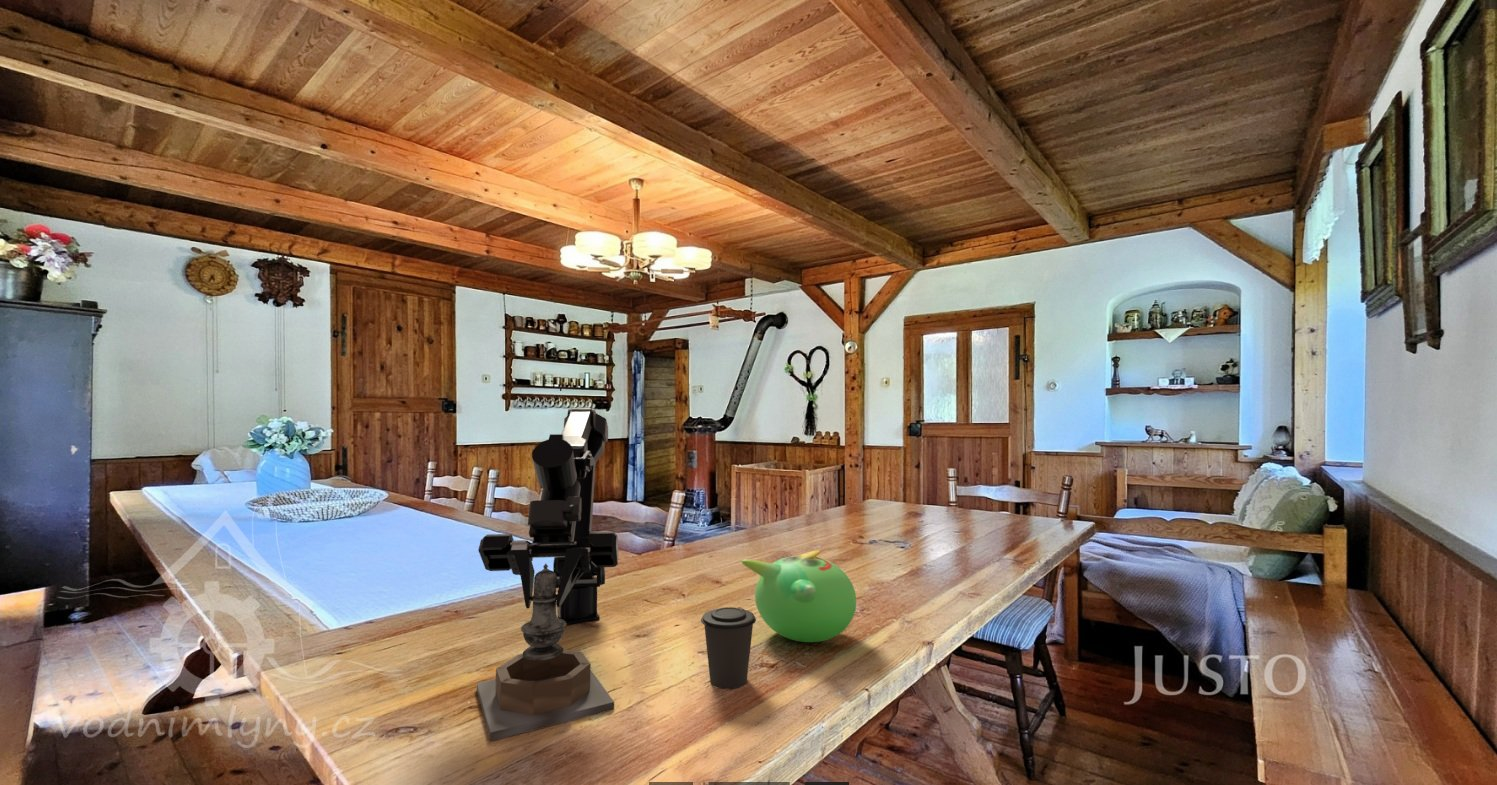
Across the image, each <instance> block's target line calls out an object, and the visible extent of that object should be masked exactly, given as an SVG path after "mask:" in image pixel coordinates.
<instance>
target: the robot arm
mask: <svg viewBox="0 0 1497 785" xmlns="http://www.w3.org/2000/svg"><path fill="white" fill-rule="evenodd" d="M608 439H609V426H608V421H607V418H606V417H604V416H602V415H600V414H599V413H597V412H596V409H595V408H592V407H572V408H569V409H568V410H567V415H566V417H565V418H564V419H563V429H562V432H561V434H560V433H559V434H558V433H557V434H556V433H555V434H550V433H549V437H548V439H546V440H543V441H542V442H540V443H538V444H536V446H535V447H534V448H533V449H532V451H531V459H532V463H533V467H534V472H535V476H536V479H537V485H538V486H539V488H541V495H540V499H539V500H538V499H537V500H531V501H530V502H529V509H528V519H527V526H529V529H528V535H529V538H530V539H531V538H532V542H530V541H528V540H526V539H525V540H524V539H523V540H515V539H514V537H513V533H501V534H500V533H499V534H498V533H497V534H496V533H495V534H491V533H490V534H486V535H485V536H483V537H482V538H481V539H480V541H479V542H480V543H479V547H478V549H477V551H478V553H479V556H480V558H481V561H482V563H483V566H484V569H485V570H486V571H489V572H500V571H501V572H502V571H503V572H504V571H507V572H508V571H511V572H512V574H513V575H516V576H519V577H520V582H521V585H522V594H523V599H524V605H525V609H530V608H531V604H532V601H531V597H533V594H534V577H535V574H536V572H535V568H534V565H533V559H536V558H542V559H544V558H553V566H552V567H553V569H552V571H553V572H555V574H556V589H557V592H556V594H557V600H556V614H557V617H558V619H561V620H563V621H565V622H566V625H570V624H576V623H583V622H588V621H593V620H598V619H601V616H600V614H599V613H598V588H600V587H601V586H602V585H605V584H606V568H614V567H616V566H618V565H619V541H618V535H617V534H616V532H615V531H614V530H613V531H611V530H609V531H607V530H606V531H592V527H593V511H594V497H595V495H594V494H595V480H596V478H595V477H596V464H597V463H598V461H599V460H600V458H601V457H602V455H603V454H604V453H605V445H606V443H607V442H608V441H609V440H608Z"/></svg>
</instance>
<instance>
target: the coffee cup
mask: <svg viewBox="0 0 1497 785" xmlns="http://www.w3.org/2000/svg"><path fill="white" fill-rule="evenodd" d="M700 622H701V623H702V624H703V625H704V626H703V627H704V635H705V644H706V652H707V653H706V654H707V663H708V672H709V681H710V682H709V683H710V684H711V685H712V686H713V687H715V688H717V689H721V690H735V689H739V688H742V687H744V685H746V684H747V682H748V673H749V665H750V654H751V645H752V636H753V630H754V629H753V628H754V626H753V625H754V624H755V623H756V622H757V618H756V616H755V614H754V613H753V612H752V611H750V610H748V609H747V610H746V609H744V608H743V607H733V606H731V607H730V606H729V607H719V608H713V609H711V610H708V611H706V612H704V613H703V615H702V617H701V619H700Z"/></svg>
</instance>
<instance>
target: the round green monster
mask: <svg viewBox="0 0 1497 785" xmlns="http://www.w3.org/2000/svg"><path fill="white" fill-rule="evenodd" d="M821 552H822V551H821V550H818V549H817V550H812V551H811V550H810V551H808V552H805V553H801V554H798V555H791V556H786V557H782V558H780V559H777V560H776V561H774V562H772V563H771V562H766V561H760V560H756V559H755V560H754V559H749V558H747V559H746V558H745V559H742V560H741V564H742V565H743V566H745V567H747V568H748V570H751V571H753V572H754V573H756V574H757V575H758V576H759V578H758V580H757V582H756V586H755V590H754V599H755V600H754V601H755V605H756V608H757V611H758V614H759V615H760V616H761V619H762V620H763V621H764V623H765V624H766V625H767V626H768V627H769V628H771V630H773V631H774V632H775V633H777V634H779V635H781V637H784V638H787V639H789V640H792V641H796V642H801V643H819V642H825V641H828V640H831V639H834V638H835V637H837V636H839V635H840V634H842V633H843V632H844V631H845V630H846V629H847V628H848V627H849V625H850V624H851V622H852V621H853V618H854V616H855V613H856V609H857V594H856V590H855V588H854V585H853V583H852V581H851V579H850V578H849V576H848V575H847V574H846V573H845V572H844V570H842V569H841V568H840V567H838V566H837V565H836V564H835V563H833V562H831V561H829V560H827V559H825V558H821V557H818V555H819V554H821Z"/></svg>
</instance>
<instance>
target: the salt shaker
mask: <svg viewBox="0 0 1497 785" xmlns="http://www.w3.org/2000/svg"><path fill="white" fill-rule="evenodd" d="M548 568H549V565H548V564H547V563H544V565H543V569H542V570H540V571H538V572H536V573H535V574H534V583H533V595H532V597H531V602H532V614H531V617H530V618H531V619H530V620H529V621H527V622H526V623H524V624H523V625H521V628H520V630H521V632H522V633H523V634H522V636H523V638H524V641H525V643H527V644H528V645H529V646H528V647H527V648H526V649H525V650H524V651H522V653H521V654H522V655H523V657H524V658H526V659H528V660H547V659H551V658H555V657H557V656H559V655H561V654H562V653H563V650H565V649H564V647H563V646H561V645H560V644H558V643H559V641H560V640H561V639H562V637H563V634H564V632H565V628H566V627H567V624H566V622H565V621H563V620H561V619H560V618H559V617H558V615H557V605H556V601H557V588H556V574H555V572H553V570H550V569H548Z"/></svg>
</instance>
